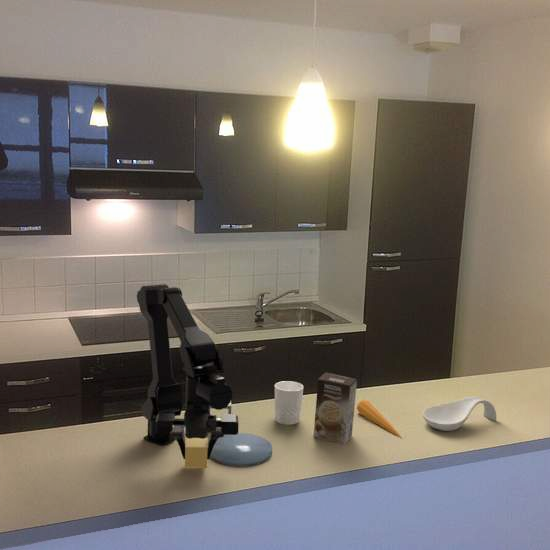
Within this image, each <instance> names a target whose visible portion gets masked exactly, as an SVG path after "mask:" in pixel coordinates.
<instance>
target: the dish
mask: <svg viewBox="0 0 550 550" xmlns="http://www.w3.org/2000/svg"><path fill="white" fill-rule="evenodd" d="M272 453H273V445H272V443H271V442H270V441H269V440H268V439H266V438H265V437H262V436H260V435H256V434H252V433H246V432H238V434H236V435H224V437H220V438H219V439H218V440H217V441H216V443H215V445H214V447H213V450H212V452H211V455H210V457H209V458H211V459H212V460H214V461H215V462H218V463H220V464H224V465H228V466H236V467H246V466H247V467H249V466H250V467H251V466H254V465H255V466H256V465H259V464H261V463H264V462H266V461H267V460H269V459H270V458H271V457H272Z"/></svg>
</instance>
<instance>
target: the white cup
mask: <svg viewBox="0 0 550 550" xmlns="http://www.w3.org/2000/svg"><path fill="white" fill-rule="evenodd" d="M303 394H304V385H303V384H302V383H301V382H297V381H290V380H286V381H284V380H282V381H279V382H276V383H275V384H274V420H275V421H276V422H277V423H278V424H282V425H285V426H286V425H287V426H288V425H290V426H292V425H296V424H299V423H300V421H301V419H300V418H301V411H302V403H303V396H304V395H303Z"/></svg>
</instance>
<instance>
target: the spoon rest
mask: <svg viewBox="0 0 550 550" xmlns="http://www.w3.org/2000/svg"><path fill="white" fill-rule="evenodd" d="M479 404H483V416H484V418H485V417H486V418H487V419H489V420H492V421H493V422H494V421H497V411H496V409H495V406H494V405H493V404H492V403H491V402H490V401H488V400H487V399H484V398H482V397H481V396H478V395H477V396H475V395H474V396H473V395H471V396H468V397H464V398H461V399H458V400H455V401H451V402H446V403H440V404H438V405H437V404H436V405H434V406H430V407H427V408H426V409H424V410H423V411H422V419H424V421H425V423H427V424H428V425H429V426H430V427H432V428H433V429H436V430H437V431H438V430H439V431H444V432H451V431H452V432H453V431H456V430H457V429H458V428H460V427H461V426H463V425H464V423H465V422H466V421H467V420H468V418H469V416H470V414H471V413H472V411H474V408H475V407H476V406H477V405H479Z"/></svg>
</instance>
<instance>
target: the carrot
mask: <svg viewBox="0 0 550 550" xmlns="http://www.w3.org/2000/svg"><path fill="white" fill-rule="evenodd" d="M356 410H357V412H358V413H359V414H360V415H362V416H363V418H364V417H365V418H366V419H368V420H369V421H370V422H373V423H375V424H377V425H378V426H380V427H381V428H383V429H384V430H386V431H388V432H390V433H391V434H393V435H395V436H397V437H398V438H400V439H403V436H401V435H400V433H399V432H398V431H397V430H396V429H395V428H394V426H393V425H392V424H391V423H390V422H389V421H388V420H387V419H386V418H385V417H384V416H383V415H382V414H381V412H380V411H379V410H378V409H377V408H376V407H375V406H373V404H372V403H371V402H370V401H369V400H366V399H363V400H360V401H359V402H358V403H357V405H356Z"/></svg>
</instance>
